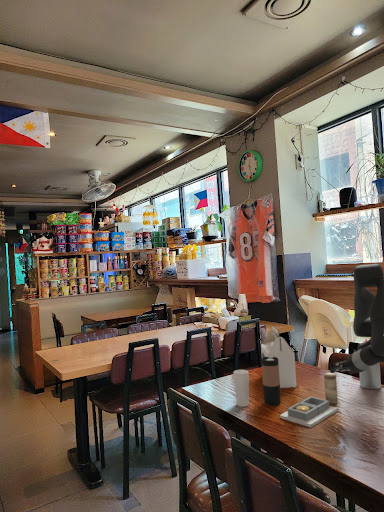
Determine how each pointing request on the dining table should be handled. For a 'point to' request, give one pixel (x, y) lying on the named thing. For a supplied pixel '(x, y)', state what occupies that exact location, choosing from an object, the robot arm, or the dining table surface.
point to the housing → (309, 412)
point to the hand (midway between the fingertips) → (340, 371)
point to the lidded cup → (330, 387)
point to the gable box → (280, 357)
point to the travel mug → (271, 381)
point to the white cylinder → (242, 387)
